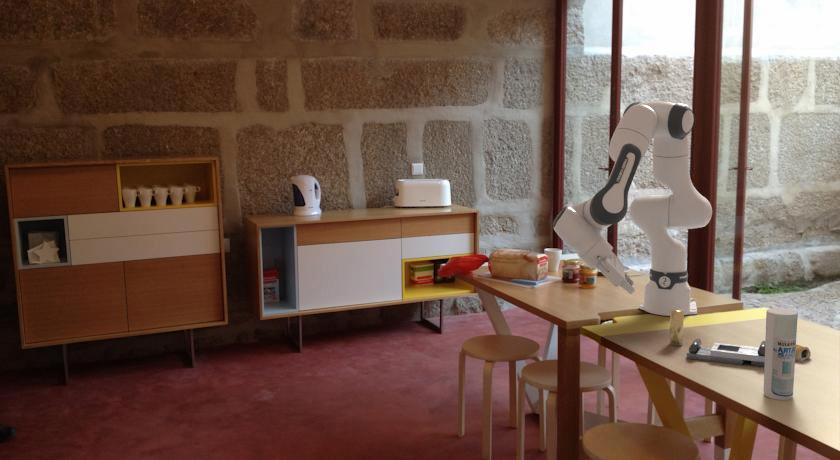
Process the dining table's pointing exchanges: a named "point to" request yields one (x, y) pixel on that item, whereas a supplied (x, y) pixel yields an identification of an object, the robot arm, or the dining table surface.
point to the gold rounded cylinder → (676, 327)
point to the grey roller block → (728, 353)
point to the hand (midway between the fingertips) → (632, 288)
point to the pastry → (802, 353)
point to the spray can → (780, 353)
